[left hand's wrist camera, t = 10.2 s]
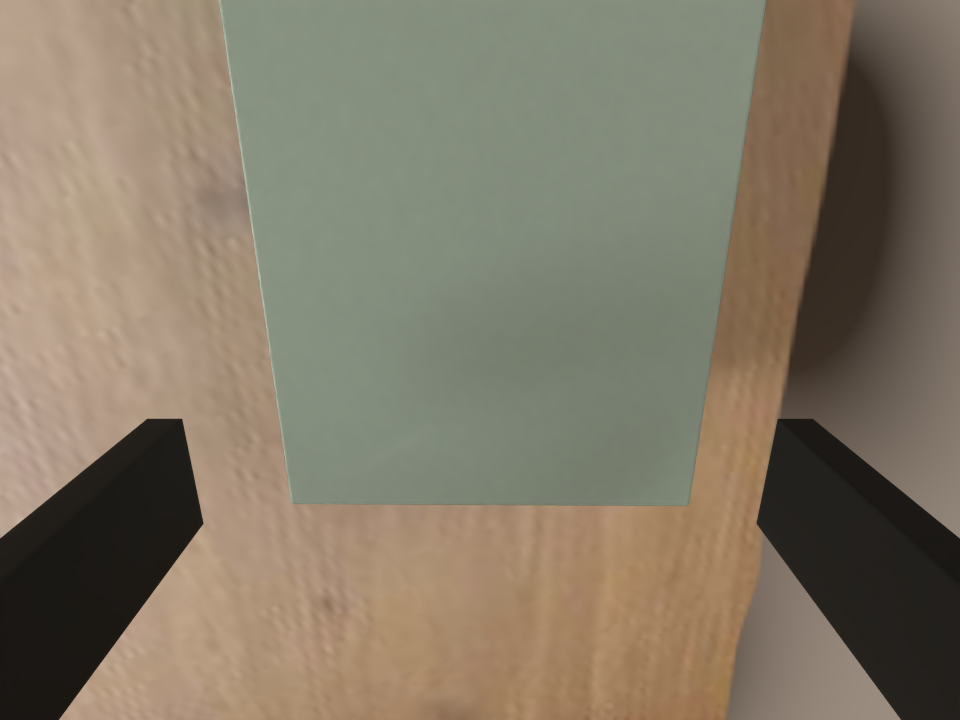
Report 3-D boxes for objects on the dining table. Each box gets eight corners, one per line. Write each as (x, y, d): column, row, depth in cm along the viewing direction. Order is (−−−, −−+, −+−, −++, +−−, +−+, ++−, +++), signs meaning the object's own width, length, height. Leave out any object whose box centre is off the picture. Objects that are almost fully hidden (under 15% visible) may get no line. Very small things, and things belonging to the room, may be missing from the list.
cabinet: (300, -206, 17) (144, -494, 9) (682, -210, 17) (846, -506, 9) (353, 388, 24) (290, 505, 16) (624, 389, 23) (690, 507, 16)
